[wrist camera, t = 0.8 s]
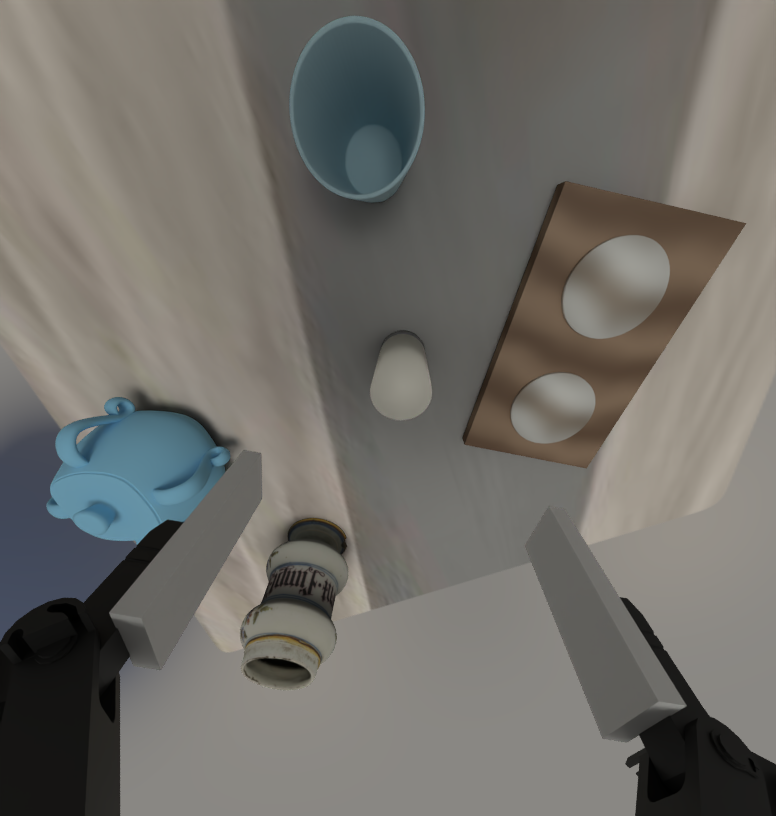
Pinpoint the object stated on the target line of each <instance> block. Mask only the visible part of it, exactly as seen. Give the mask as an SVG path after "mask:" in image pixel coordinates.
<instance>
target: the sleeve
mask: <svg viewBox="0 0 776 816" xmlns="http://www.w3.org/2000/svg"><path fill="white" fill-rule="evenodd" d="M370 396H371V400H372V403H373V405H374V406H375V408H376V409H377V410H378V411H379V412H380V413H381V414H382V415H384V416H386V417H388V418H390V419H394V420H409V419H412V418H415V417H417V416H419V415H420V414H421V413H423V412H424V411H425V410H426V408H427V407H428V405H429V404H430V401H431V398H432V387H431V381H430V376H429V370H428V365H427V359H426V353H425V348H424V345H423V342H422V340H421V339H420V338H419V337H418V336H417V335H416V334H414V333H412V332H409V331H397V332H394V333H392V334H390V335H389V336H388V337H387V338H386V339H385V340H384V342H383V344H382V347H381V350H380V354H379V358H378V361H377V365H376V369H375V372H374V376H373V380H372V383H371V387H370Z"/></svg>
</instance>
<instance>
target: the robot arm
mask: <svg viewBox="0 0 776 816" xmlns="http://www.w3.org/2000/svg"><path fill="white" fill-rule="evenodd" d="M261 500H262V465H261V453H258V452H252V451H247V450H243V452H242V453H241V454H240V455H239V456H238V458H237V459H236V460H235V461H234V462H233V464H232V465H231V466H230V467H229V468H228V470H227V471H226V472H225V473H224V475H223V476H222V477H221V478H220V479H219V481H218V482H217V483H216V484H215V485H214V487H213V488H212V489H211V490H210V491H209V493H208V494H207V495H206V496H205V497H204V499H203V500H202V501H201V502H200V503H199V505H198V506H197V507H196V508H195V510H194V511H193V512H192V513H191V514H190V516H189V517H188V518H187V519H186V520H185V522H180V521H174V520H168V519H167V520H166V521H164V522H163V523H161V524H160V525H158V526H157V527H155V528H154V529H152V530H151V531H150V532H149V533H148V534H147V535H146V536H145V537H144V538H143V539H142V540H141V541H140V542H139V543H138V544H137V547H136V548H134V549H133V550H132V551H131V552H130V553H129V554H128V555H127V556H126V559H125V560H123V561H122V562H121V563H120V564H119V565H118V566H117V567H116V568H115V569H114V571H113V572H112V573H111V574H110V575H109V576H108V577H107V578H106V579H105V580H104V581H103V582H102V584H100V586H99V587H98V588H97V589H96V590H95V591H94V592H93V593H92V594H91V595H90V596H89V597H88V599H87V600H86V601H85V602H84V603H83V602H81V601H79V600H78V599H76V598H61V599H57V600H53V601H49V602H47V603H45V604H43V605H41V606H39V607H37V608H35V609H33V610H31V611H30V612H29V613H27V614H26V615H24V616H23V617H22V618H20V619H19V620H17V621H16V622H15V623H14V625H13V626H12V627H11V628H10V629H9V630H8V631H7V632H6V633H5V635H4V636H3V638H2V640H1V642H0V816H120V675H119V671H120V669H121V668H122V667H123V665H124V664H125V662H126V661H127V659H128V658H129V657H130V659H131V661H132V664H133V665H134V666H137V667H143V668H150V669H156V670H161V669H162V668H163V666H164V664H165V662H166V661H167V659H168V657H169V656H170V654H171V652H172V651H173V649H174V647H175V646H176V644H177V642H178V640H179V639H180V637H181V635H182V634H183V632H184V630H185V629H186V627H187V625H188V623H189V622H190V620H191V618H192V617H193V615H194V613H195V612H196V610H197V608H198V607H199V605H200V603H201V601H202V600H203V598H204V596H205V595H206V593H207V591H208V590H209V588H210V586H211V585H212V583H213V581H214V579H215V578H216V576H217V574H218V573H219V571H220V569H221V568H222V566H223V564H224V562H225V561H226V559H227V557H228V556H229V554H230V552H231V551H232V549H233V547H234V545H235V544H236V542H237V540H238V539H239V537H240V535H241V534H242V532H243V530H244V529H245V527H246V525H247V523H248V522H249V520H250V518H251V517H252V515H253V513H254V512H255V510H256V508H257V506H258V505H259V503H260V501H261ZM525 548H526V550H527V553H528V555H529V558H530V560H531V562H532V565H533V567H534V570H535V572H536V575H537V577H538V580H539V582H540V585H541V587H542V590H543V592H544V595H545V597H546V599H547V602H548V605H549V607H550V610H551V612H552V614H553V617H554V619H555V622H556V624H557V627H558V629H559V632H560V634H561V637H562V639H563V642H564V644H565V646H566V649H567V651H568V654H569V657H570V659H571V662H572V664H573V666H574V669H575V671H576V674H577V676H578V679H579V681H580V684H581V686H582V689H583V691H584V694H585V696H586V698H587V701H588V704H589V706H590V708H591V711H592V713H593V716H594V718H595V721H596V723H597V726H598V728H599V731H600V733H601V736H602V738H603V739H608V740H614V741H621V742H629V741H630V740H632V739H633V738H635V737H637V736H638V735H639V736H640V738H641V740H642V742H643V744H644V746H645V748H644V749H642V750H640V751H638V752H637V753H635V754H633V755H632V756H630V757H628V758H627V761H626V765H627V766H628V767H629V768H631V767H632V766H634V765H636V764H638V763H639V771H638V772H637V773H636V775H637V776H638V789H637V801H636V813H635V816H776V764H774V763H772V762H770V761H768V760H766V759H764V758H763V757H761V756H759V755H757V754H755V753H753V752H751V751H750V750H749V749H748V748H747V746H746V745H745V744H744V743H743V742H742V741H741V739H740V738H739V737H738V736H737V735H735V733H734V732H732V731H731V730H730V729H729V728H728V727H727V726H726V725H724V724H722V723H721V722H719V721H718V720H716V719H715V718H712V717H710V716H709V715H708V714H707V712H706V711H705V709H704V708H703V707H702V705H701V704H700V702H699V701H698V699H697V698H696V696H695V694H694V693H693V691H692V690H691V688H690V687H689V685H688V684H687V682H686V681H685V679H684V678H683V676H682V674H681V673H680V671H679V670H678V669H677V667H676V665H675V664H674V662H673V661H672V659H671V658H670V656H669V655H668V653H667V651H665V650H664V649H663V645H662V644H661V642H660V641H659V639H658V638H657V636H655V635H654V632H653V630H652V629H651V627H650V626H649V624H648V622H647V621H646V619H645V618H644V616H643V615H642V614H641V613H640V611H638V609H637V608H636V607H635V606H634V605H633V604H632V603H631V602H630V601H629V600H628V599H627V598H621V597H619V596H618V594H617V592H616V591H615V589H614V588H613V586H612V584H611V583H610V581H609V579H608V578H607V576H606V575H605V573H604V571H603V570H602V568H601V567H600V565H599V563H598V562H597V560H596V558H595V557H594V555H593V554H592V552H591V550H590V549H589V547H588V546H587V544H586V542H585V541H584V539H583V537H582V536H581V534H580V533H579V531H578V529H577V528H576V526H575V525H574V523H573V521H572V520H571V518H570V516H569V515H568V513H567V512H566V510H565V509H562V508H557V507H551V506H549V507H548V508H547V510H546V511H545V513H544V515H543V516H542V518H541V520H540V521H539V523H538V524H537V526H536V528H535V529H534V531H533V533H532V534H531V536H530V538H529V539H528V541H527V542H526V544H525Z"/></svg>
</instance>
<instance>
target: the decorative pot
mask: <svg viewBox="0 0 776 816" xmlns="http://www.w3.org/2000/svg"><path fill="white" fill-rule="evenodd" d="M117 406H118V407H119V412H118V410H117ZM104 409H105V411H106V412H107V413H108V414H109V415H106V416H98V417H92V418H87V419H82V420H79V421H76V422H73V423H71V424H69V425H67V426H65V427H64V428H63V429H62V430H61V431H60V432H59V433H58V435H57V438H56V450H57V453H58V456H59V457H60V459H61V460H62V461H63V464H62V466H61V467H60V469H59V470H58V472H57V474H56V475H55V477H54V479H53V481H52V483H51V486H50V492H51V495H52V498H51V499H50V500H49V501H48V502H47V509H48V511H49V513H50V514H51V515H52V516H54V517H56V518H59V519H66V518H71V519H72V520H73V521H74V523H75V524H76V525H77V526H78V527H79V528H80V529H82V530H83V531H85V532H87V533H89V534H91V535H93V536H96V537H99V538H102V539H107V540H115V541H132V540H135V541H136V544H138V543H139V542H140V541H141V540H142V539H143V538H144V537H145V536H146V535H147V534H148V533H149V532H150V531H151V530H152V529H154V528H155V527H157V526H158V525H160V524H161V523H163V522H164V521H166V520H167V519H168V520H174V521H180V522H185V520H186V519H187V518H188V517H189V516H190V514H191V513H192V512H193V511H194V510H195V508H196V507H197V506H198V505H199V503H200V502H201V501H202V500H203V499H204V497H205V496H206V495H207V494H208V493H209V491H210V490H211V489H212V488H213V487H214V485H215V484H216V483H217V482H218V481H219V479H220V478H221V477H222V476H223V475H224V473H225V466H224V464H226V463H227V462H228V461H229V460H230V452H229V450H228V449H226V448H224V447H217V446H216V444H215V443H214V441H213V440H212V438H211V437H210V435H209V434H208V432H207V431H206V430H205V429H204V428H203V426H202V425H201V424H199V423H198V422H197V421H196V420H194V419H193V418H191V417H189V416H186V415H183V414H179V413H174V412H167V411H152V410H147V411H135V406H134V404H133V403H132V402H131V401H129V400H128V399H126V398H122V397H115V398H112V399H109V400H108V401H107V402H106V403H105V405H104ZM94 426H98V427H97V428H95V429H94V430H93V431H91V432H90V433H89V434H88V435H87V436H85V437H84V438H83V439H82V440H81V441H80V442H79V443H78V444H77V445H76V438H77V436H78V434H79V433H80V432H81V431H83V430H85V429H87V428H90V427H94Z"/></svg>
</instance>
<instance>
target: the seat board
mask: <svg viewBox="0 0 776 816" xmlns="http://www.w3.org/2000/svg"><path fill="white" fill-rule="evenodd" d="M745 225H746V223H743V222H738V221H734V220H730V219H725V218H721V217H717V216H713V215H708V214H704V213H700V212H695V211H691V210H687V209H683V208H678V207H674V206H670V205H665V204H661V203H657V202H653V201H648V200H644V199H640V198H635V197H631V196H627V195H622V194H618V193H614V192H610V191H605V190H601V189H597V188H592V187H588V186H584V185H580V184H575V183H571V182H567V181H565V182H563V183H561V184H558V185H557V188H556V190H555V193H554V196H553V198H552V201H551V204H550V206H549V209H548V212H547V214H546V217H545V220H544V222H543V225H542V228H541V230H540V233H539V236H538V238H537V241H536V244H535V246H534V249H533V252H532V254H531V257H530V260H529V262H528V265H527V268H526V270H525V273H524V276H523V278H522V281H521V284H520V286H519V289H518V292H517V294H516V297H515V300H514V302H513V305H512V308H511V310H510V313H509V316H508V318H507V321H506V324H505V326H504V329H503V332H502V334H501V337H500V340H499V342H498V345H497V348H496V350H495V353H494V356H493V358H492V361H491V364H490V366H489V369H488V372H487V374H486V377H485V380H484V382H483V385H482V388H481V390H480V393H479V396H478V398H477V401H476V404H475V406H474V409H473V412H472V414H471V417H470V420H469V422H468V425H467V428H466V430H465V433H464V436H463V441H464V444H465V445H469V446H475V447H480V448H485V449H490V450H495V451H500V452H505V453H511V454H516V455H521V456H526V457H531V458H536V459H541V460H546V461H552V462H557V463H562V464H567V465H572V466H577V467H582V468H587V467H588V465H589V464H590V462H591V461H592V459H593V458H594V456H595V455H596V453H597V451H598V450H599V448H600V447H601V445H602V444H603V442H604V441H605V439H606V438H607V436H608V435H609V433H610V432H611V430H612V428H613V427H614V425H615V424H616V422H617V421H618V419H619V418H620V416H621V415H622V413H623V412H624V410H625V409H626V407H627V405H628V404H629V402H630V401H631V399H632V398H633V396H634V395H635V393H636V392H637V390H638V389H639V387H640V386H641V384H642V382H643V381H644V379H645V378H646V376H647V375H648V373H649V372H650V370H651V369H652V367H653V366H654V364H655V363H656V361H657V359H658V358H659V356H660V355H661V353H662V352H663V350H664V349H665V347H666V346H667V344H668V343H669V341H670V340H671V338H672V336H673V335H674V333H675V332H676V330H677V329H678V327H679V326H680V324H681V323H682V321H683V320H684V318H685V317H686V315H687V313H688V312H689V310H690V309H691V307H692V306H693V304H694V303H695V301H696V300H697V298H698V297H699V295H700V294H701V292H702V290H703V289H704V287H705V286H706V284H707V283H708V281H709V280H710V278H711V277H712V275H713V274H714V272H715V271H716V269H717V267H718V266H719V264H720V263H721V261H722V260H723V258H724V257H725V255H726V254H727V252H728V251H729V249H730V248H731V246H732V244H733V243H734V241H735V240H736V238H737V237H738V235H739V234H740V232H741V231H742V229H743V228H744V226H745Z"/></svg>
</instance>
